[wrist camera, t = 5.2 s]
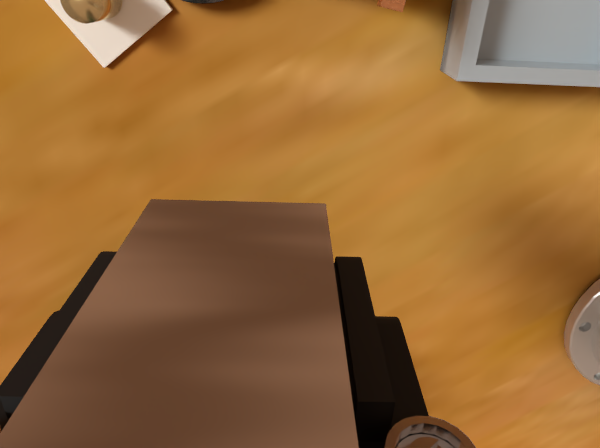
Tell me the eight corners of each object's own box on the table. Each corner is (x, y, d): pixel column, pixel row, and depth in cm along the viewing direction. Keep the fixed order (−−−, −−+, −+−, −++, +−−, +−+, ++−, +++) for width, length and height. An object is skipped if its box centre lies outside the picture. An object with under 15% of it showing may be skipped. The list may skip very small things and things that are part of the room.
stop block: (327, 201, 11) (392, 640, 4) (319, 339, 13) (349, 805, 6) (148, 197, 11) (-143, 637, 4) (166, 336, 13) (-1, 806, 6)
